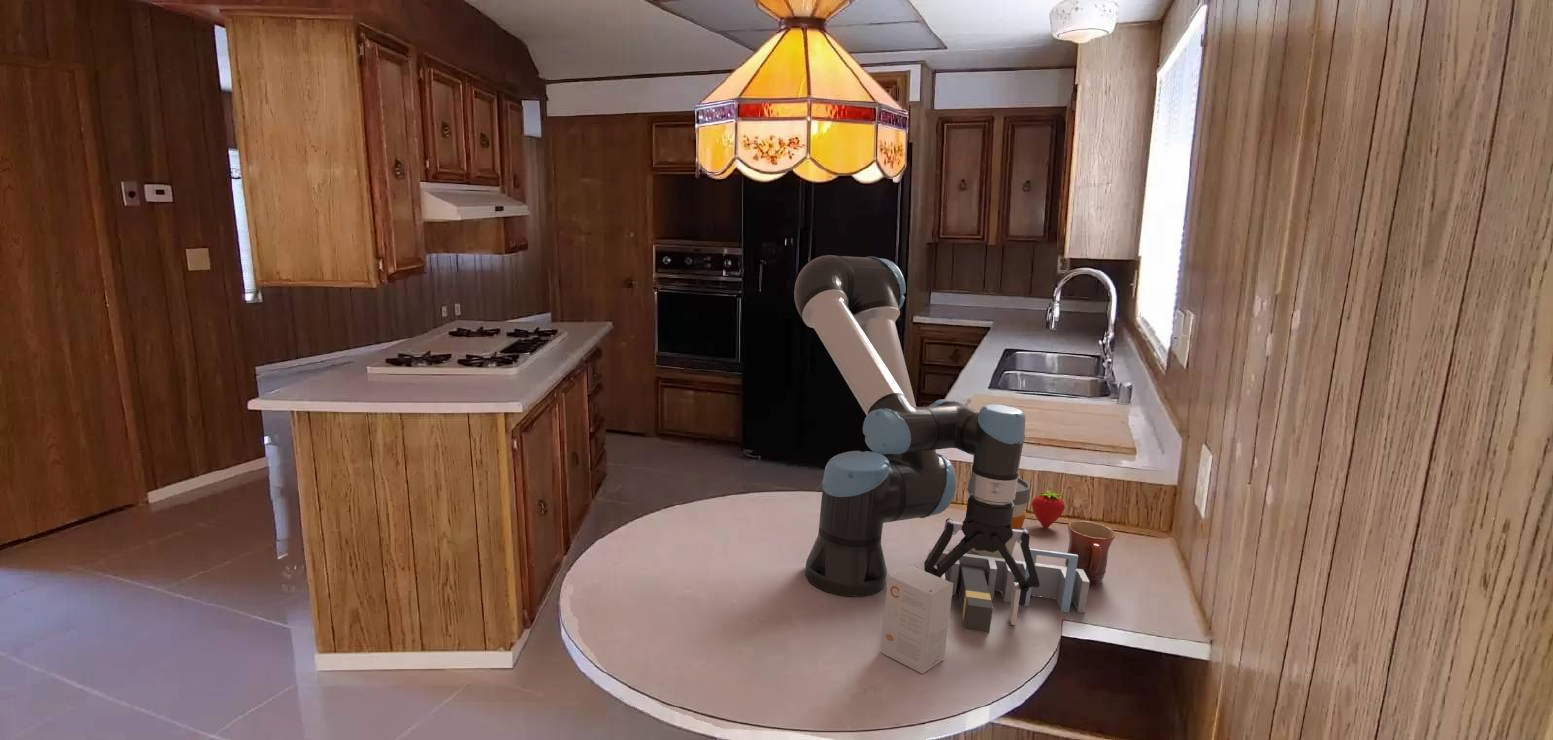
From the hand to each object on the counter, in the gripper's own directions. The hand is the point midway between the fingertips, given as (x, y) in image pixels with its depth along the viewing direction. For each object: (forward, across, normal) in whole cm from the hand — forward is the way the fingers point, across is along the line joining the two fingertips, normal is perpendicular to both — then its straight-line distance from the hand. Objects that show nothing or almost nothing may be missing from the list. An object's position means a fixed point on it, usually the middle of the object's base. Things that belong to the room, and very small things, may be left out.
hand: (975, 615), depth 138 cm
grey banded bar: (0, 0, +3) cm, 3 cm away
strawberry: (0, +20, +48) cm, 52 cm away
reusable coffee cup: (0, +6, +31) cm, 32 cm away
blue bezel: (0, +13, +7) cm, 15 cm away
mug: (0, +23, +21) cm, 31 cm away
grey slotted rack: (0, +6, +10) cm, 12 cm away
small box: (0, -11, -16) cm, 19 cm away
